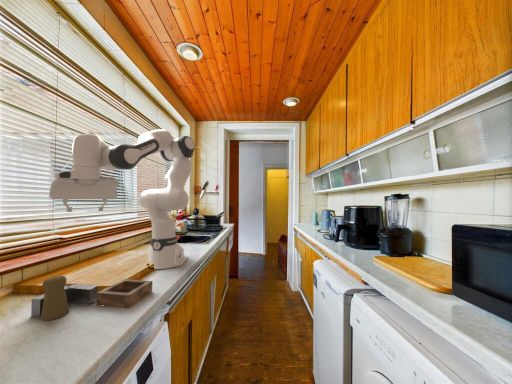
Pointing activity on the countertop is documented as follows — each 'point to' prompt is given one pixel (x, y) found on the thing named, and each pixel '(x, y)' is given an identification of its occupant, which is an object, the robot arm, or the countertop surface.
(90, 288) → the v block
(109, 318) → the countertop surface
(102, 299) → the sleeve
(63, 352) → the countertop surface
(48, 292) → the cork
